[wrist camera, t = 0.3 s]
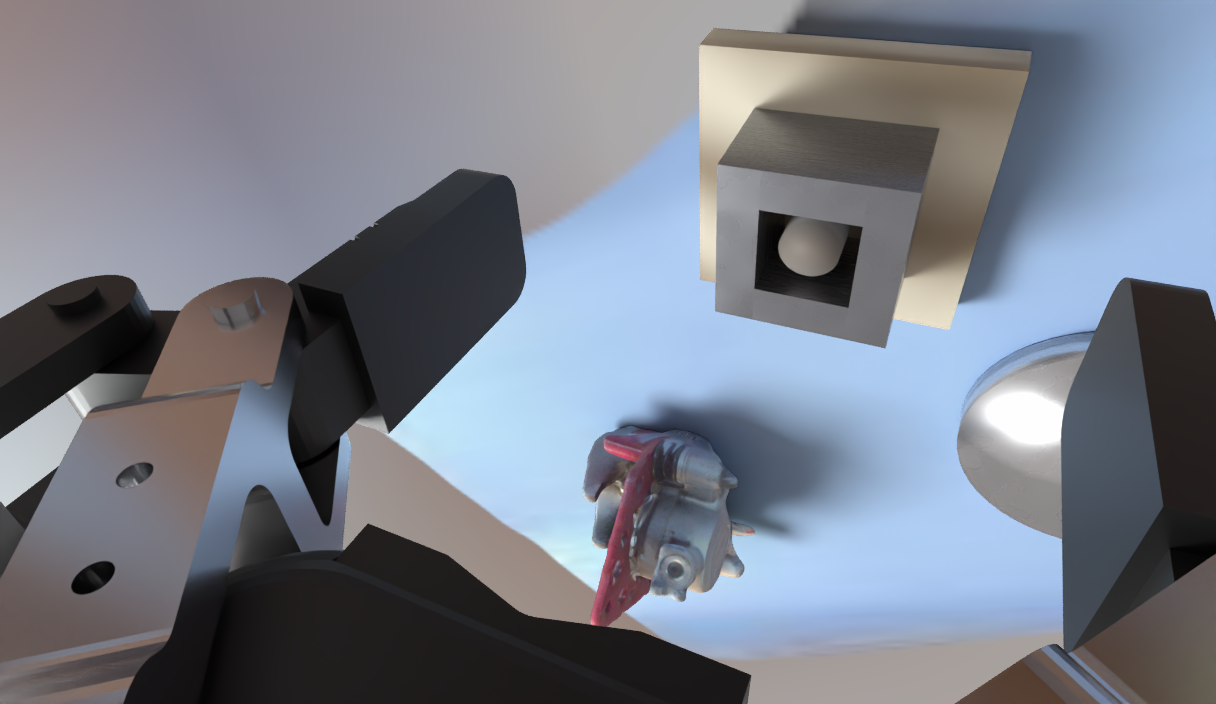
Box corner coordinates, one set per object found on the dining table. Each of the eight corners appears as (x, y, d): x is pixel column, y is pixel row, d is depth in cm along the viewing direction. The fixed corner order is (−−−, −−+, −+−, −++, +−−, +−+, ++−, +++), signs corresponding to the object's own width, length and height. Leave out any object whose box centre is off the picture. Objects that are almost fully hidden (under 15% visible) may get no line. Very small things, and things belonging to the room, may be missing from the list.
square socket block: (754, 107, 25) (716, 164, 23) (939, 128, 23) (921, 193, 21) (747, 249, 29) (715, 311, 27) (904, 278, 27) (885, 348, 25)
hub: (999, 304, 28) (987, 394, 25) (1367, 372, 24) (1409, 489, 21) (936, 478, 35) (921, 563, 32) (1208, 552, 32) (1222, 658, 28)
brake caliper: (540, 404, 42) (580, 591, 33) (726, 359, 42) (813, 530, 34) (570, 518, 49) (609, 695, 40) (726, 478, 50) (798, 643, 41)
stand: (713, 28, 26) (660, 89, 22) (1031, 51, 22) (1022, 127, 19) (711, 259, 32) (670, 331, 29) (953, 305, 29) (937, 393, 26)
